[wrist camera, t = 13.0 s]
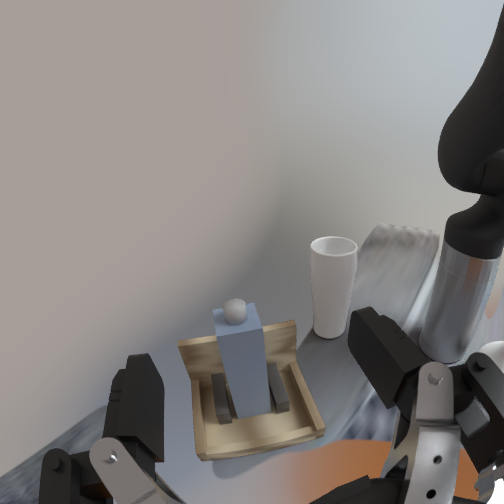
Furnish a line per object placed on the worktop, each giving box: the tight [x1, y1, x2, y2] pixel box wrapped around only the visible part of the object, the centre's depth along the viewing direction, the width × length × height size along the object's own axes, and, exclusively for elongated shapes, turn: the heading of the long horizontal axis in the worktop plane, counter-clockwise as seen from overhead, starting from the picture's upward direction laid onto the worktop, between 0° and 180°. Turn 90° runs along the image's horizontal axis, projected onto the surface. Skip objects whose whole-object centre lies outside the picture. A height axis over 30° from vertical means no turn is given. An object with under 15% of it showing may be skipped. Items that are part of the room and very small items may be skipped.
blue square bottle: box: [213, 299, 271, 419], centre depth 26 cm, size 4×4×16 cm
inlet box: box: [178, 320, 326, 461], centre depth 27 cm, size 14×12×9 cm
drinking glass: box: [310, 236, 358, 339], centre depth 39 cm, size 7×7×15 cm
